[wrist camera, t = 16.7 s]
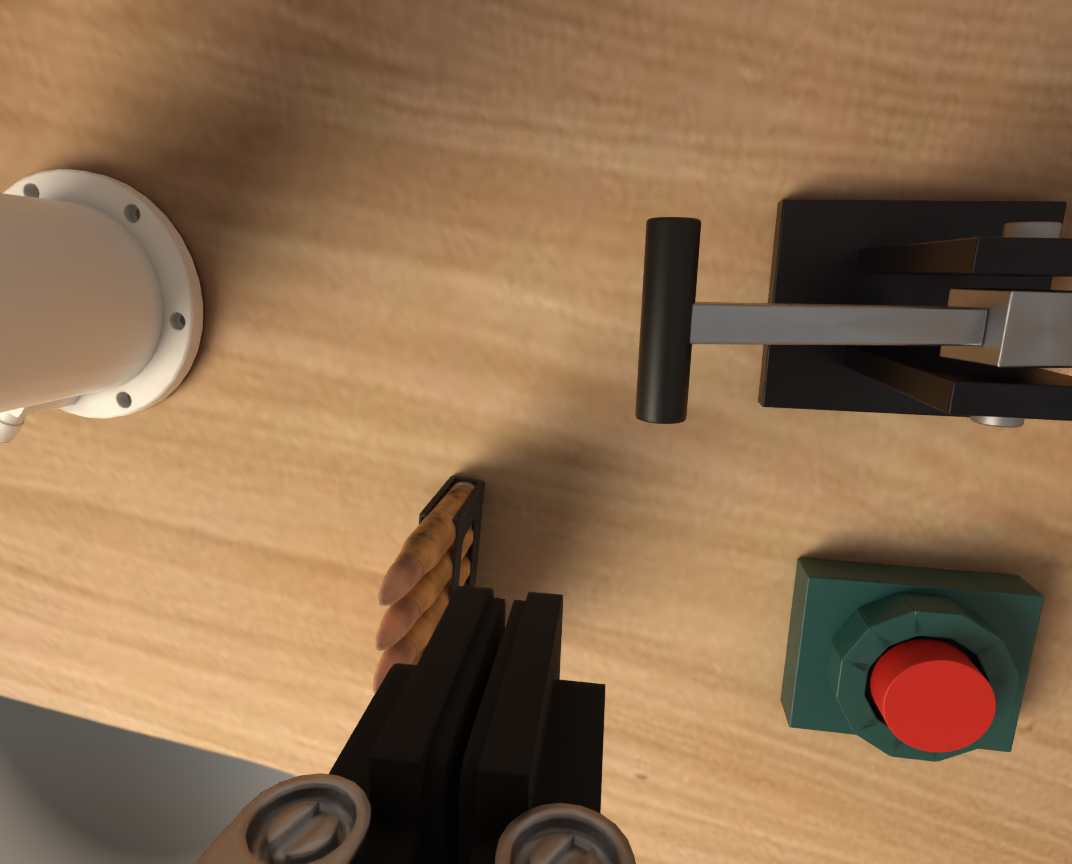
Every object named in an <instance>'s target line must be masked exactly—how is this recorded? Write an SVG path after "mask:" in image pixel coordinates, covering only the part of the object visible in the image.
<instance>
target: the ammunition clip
mask: <svg viewBox="0 0 1072 864" xmlns="http://www.w3.org/2000/svg"><path fill="white" fill-rule="evenodd" d="M484 488H485V482H484V481H480V480H474V479H467V478H461V477H454V476H451V477H450V478H449V479H448V480H447V482H446V483H445V484H444V485H443V486H442V488H441V489H440V490H439V491H438V492H437V494H436V495H435V496H434V497H433V498H432V500H431V501H430V502H429V503H428V504H427V506H426V507H425V508H424V509H423V510H422V512H421V513H420V516H419V526H418V527H417V528H416V529H415V530H414V532H413V533H412V534H411V535H410V536H409V537H408V539H407V540H406V541H405V543H404V545H403V547H402V549H401V552H400V554H399V555H398V557H397V558H396V560H395V562H394V563H393V564H392V566H391V567H390V568H389V570H388V571H387V573H386V575H385V577H384V579H383V581H382V583H381V586H380V590H379V594H378V601H379V604H380V605H382V606H386V605H389V604H391V605H390V607H389V608H388V609H387V611H386V613H385V615H384V617H383V619H382V621H381V623H380V625H379V628H378V631H377V635H376V649H377V650H379V651H381V650H385V651H384V653H383V655H382V657H381V659H380V661H379V663H378V665H377V668H376V671H375V675H374V680H373V691H374V693H376V692H377V690H378V688H379V686H380V685H381V683H382V681H383V680H384V678H385V676H386V674H387V673H388V671H389V669H390V668H391V667H392V666H393V664H396V663H402V664H412V665H417V663H418V661H419V659H420V657H421V655H422V654H423V652H424V650H425V648H426V646H427V644H428V642H429V640H430V638H431V636H432V634H433V632H434V630H435V628H436V626H437V625H438V623H439V621H440V619H441V617H442V615H443V613H444V611H445V609H446V607H447V605H448V603H449V601H450V599H451V598H452V596H453V594H454V592H455V590H456V588H457V587H458V586H468V587H475V580H476V570H477V560H478V549H479V539H480V529H481V519H482V508H483V498H484Z"/></svg>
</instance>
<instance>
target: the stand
mask: <svg viewBox="0 0 1072 864" xmlns="http://www.w3.org/2000/svg"><path fill="white" fill-rule="evenodd" d="M1065 209H1066V202H1051V201H927V200H804V199H784V200H782V201H780V202H779V203H778V208H777V218H776V228H775V238H774V248H773V258H772V268H771V278H770V288H769V298H768V303H780V304H840V305H901V306H948V300H949V293H950V289H951V288H953V287H954V288H1000V289H1039V290H1050V286H1051V281H1052V277H1072V238H1060V235H1061V230H1062V224H1063V219H1064V214H1065ZM940 349H941V346H927V345H766V344H764V348H763V358H762V368H761V377H760V387H759V397H758V402H759V403H760V404H761V405H762V406H763V407H775V408H795V409H815V410H835V411H855V412H875V413H896V414H916V415H936V416H956V417H970V419H971V420H972V421H974V422H976V423H980V424H984V425H990V426H997V427H1021V426H1023V424H1024V419H1045V420H1065V421H1072V376H1068V375H1064V374H1060V373H1056V372H1052V371H1048V370H1043V369H1039V368H998V367H992V366H987V365H981V364H975V363H969V362H964V361H958V360H952V359H946V358H942V357H940Z"/></svg>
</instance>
